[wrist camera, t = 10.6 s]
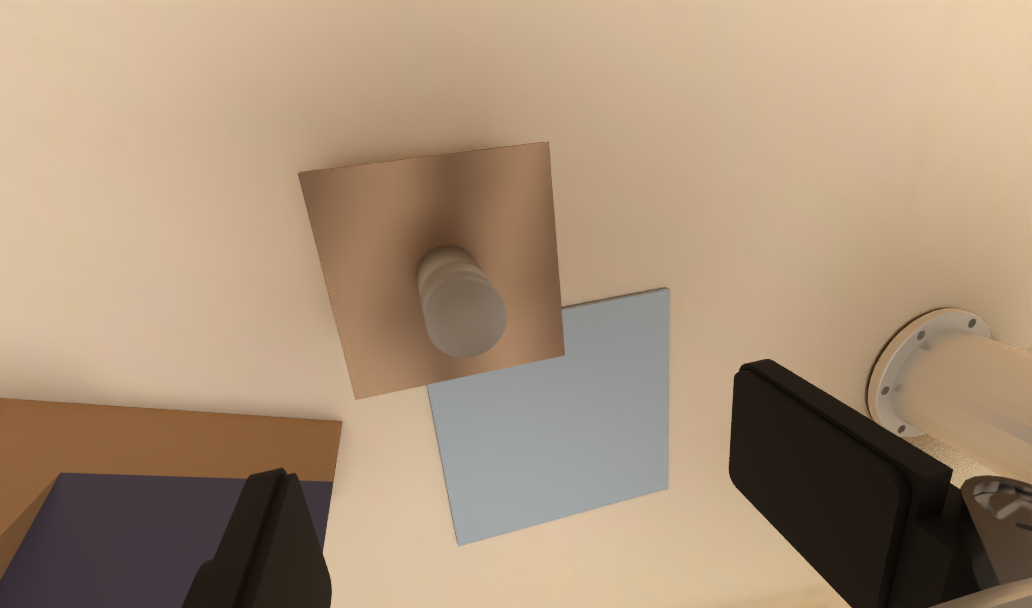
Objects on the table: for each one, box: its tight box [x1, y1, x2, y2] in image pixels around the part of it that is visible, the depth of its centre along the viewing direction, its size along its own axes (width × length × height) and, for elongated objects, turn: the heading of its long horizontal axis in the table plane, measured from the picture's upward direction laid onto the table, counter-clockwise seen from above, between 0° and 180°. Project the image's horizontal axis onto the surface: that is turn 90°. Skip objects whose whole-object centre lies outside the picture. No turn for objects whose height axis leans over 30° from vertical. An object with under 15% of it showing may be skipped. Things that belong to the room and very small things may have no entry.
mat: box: [427, 288, 669, 547], centre depth 37 cm, size 18×18×1 cm
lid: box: [298, 142, 565, 400], centre depth 21 cm, size 11×11×7 cm
